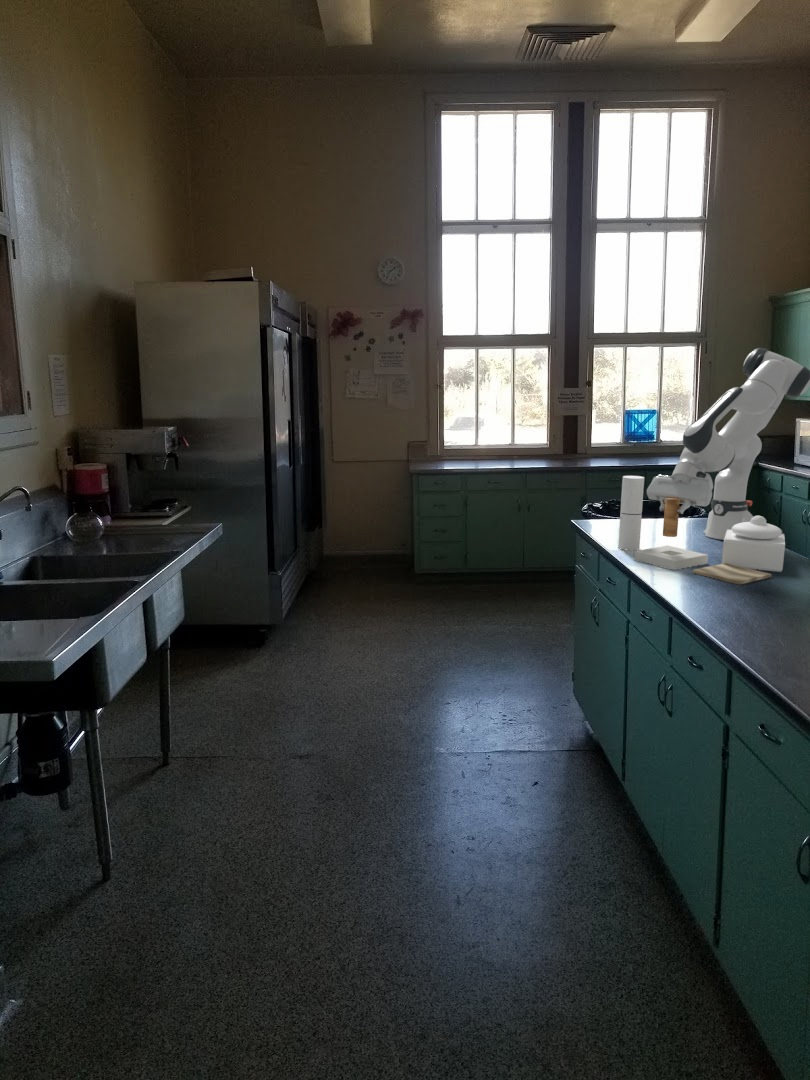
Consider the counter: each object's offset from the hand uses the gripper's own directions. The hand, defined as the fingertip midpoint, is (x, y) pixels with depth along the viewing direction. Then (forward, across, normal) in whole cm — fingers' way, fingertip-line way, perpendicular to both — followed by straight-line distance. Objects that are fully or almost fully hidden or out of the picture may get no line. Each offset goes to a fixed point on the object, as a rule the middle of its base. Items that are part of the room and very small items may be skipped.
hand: (670, 511), depth 253 cm
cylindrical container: (+5, -18, +19) cm, 27 cm away
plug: (+5, 0, +6) cm, 8 cm away
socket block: (+11, +1, +12) cm, 17 cm away
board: (+14, +22, +9) cm, 28 cm away
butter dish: (0, +22, +24) cm, 32 cm away
